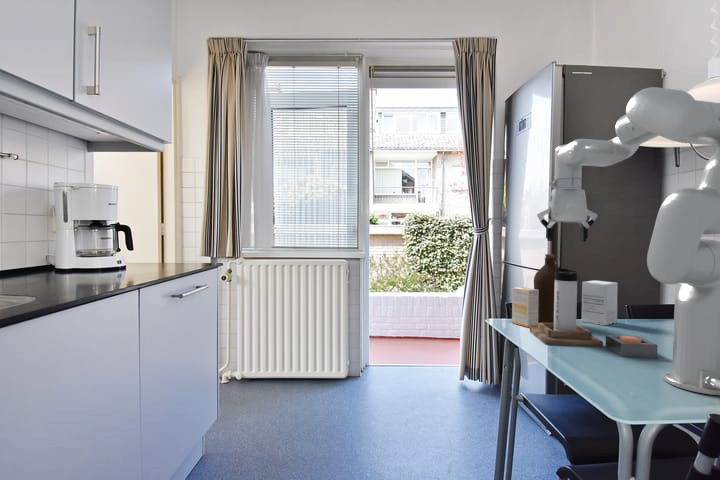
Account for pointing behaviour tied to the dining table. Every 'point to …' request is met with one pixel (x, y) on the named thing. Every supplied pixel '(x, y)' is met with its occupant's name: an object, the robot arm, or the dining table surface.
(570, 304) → the travel mug
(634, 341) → the button
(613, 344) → the button housing
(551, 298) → the olive oil
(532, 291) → the supplement box
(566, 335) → the tan flat square tray
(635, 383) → the dining table surface
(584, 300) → the supplement box
